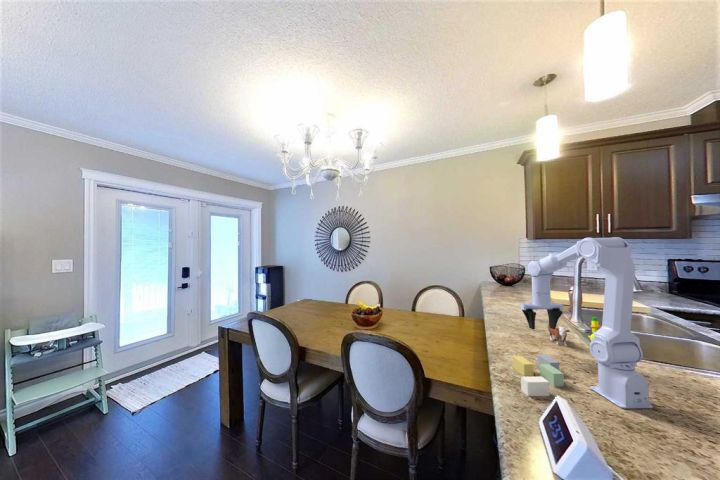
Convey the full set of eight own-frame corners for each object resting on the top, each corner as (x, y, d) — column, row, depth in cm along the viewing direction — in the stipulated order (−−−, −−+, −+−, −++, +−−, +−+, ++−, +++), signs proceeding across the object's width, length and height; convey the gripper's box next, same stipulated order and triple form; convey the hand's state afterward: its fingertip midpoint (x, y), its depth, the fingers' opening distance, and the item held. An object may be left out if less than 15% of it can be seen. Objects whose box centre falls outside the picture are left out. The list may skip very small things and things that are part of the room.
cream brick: (542, 390, 75) (541, 376, 75) (549, 396, 72) (549, 382, 72) (521, 390, 75) (520, 376, 75) (527, 396, 72) (527, 382, 72)
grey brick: (559, 374, 83) (559, 362, 83) (550, 375, 83) (549, 362, 83) (546, 366, 89) (546, 354, 89) (537, 366, 89) (537, 354, 89)
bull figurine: (559, 349, 102) (559, 328, 102) (546, 337, 115) (545, 319, 115) (572, 350, 101) (572, 329, 101) (557, 338, 114) (557, 319, 114)
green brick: (564, 387, 76) (563, 373, 76) (553, 387, 76) (553, 373, 76) (549, 376, 82) (549, 364, 82) (539, 376, 82) (539, 364, 82)
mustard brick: (533, 376, 82) (533, 364, 82) (524, 376, 82) (523, 364, 82) (521, 367, 88) (521, 356, 88) (513, 367, 88) (512, 356, 88)
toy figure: (610, 349, 102) (609, 318, 102) (609, 351, 99) (608, 320, 99) (587, 344, 106) (586, 315, 107) (586, 347, 104) (585, 317, 104)
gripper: (552, 290, 102) (553, 325, 101) (515, 290, 102) (516, 325, 102) (566, 293, 95) (567, 331, 94) (526, 294, 95) (527, 331, 95)
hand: (542, 328), depth 98 cm, fingers open, 7 cm apart
